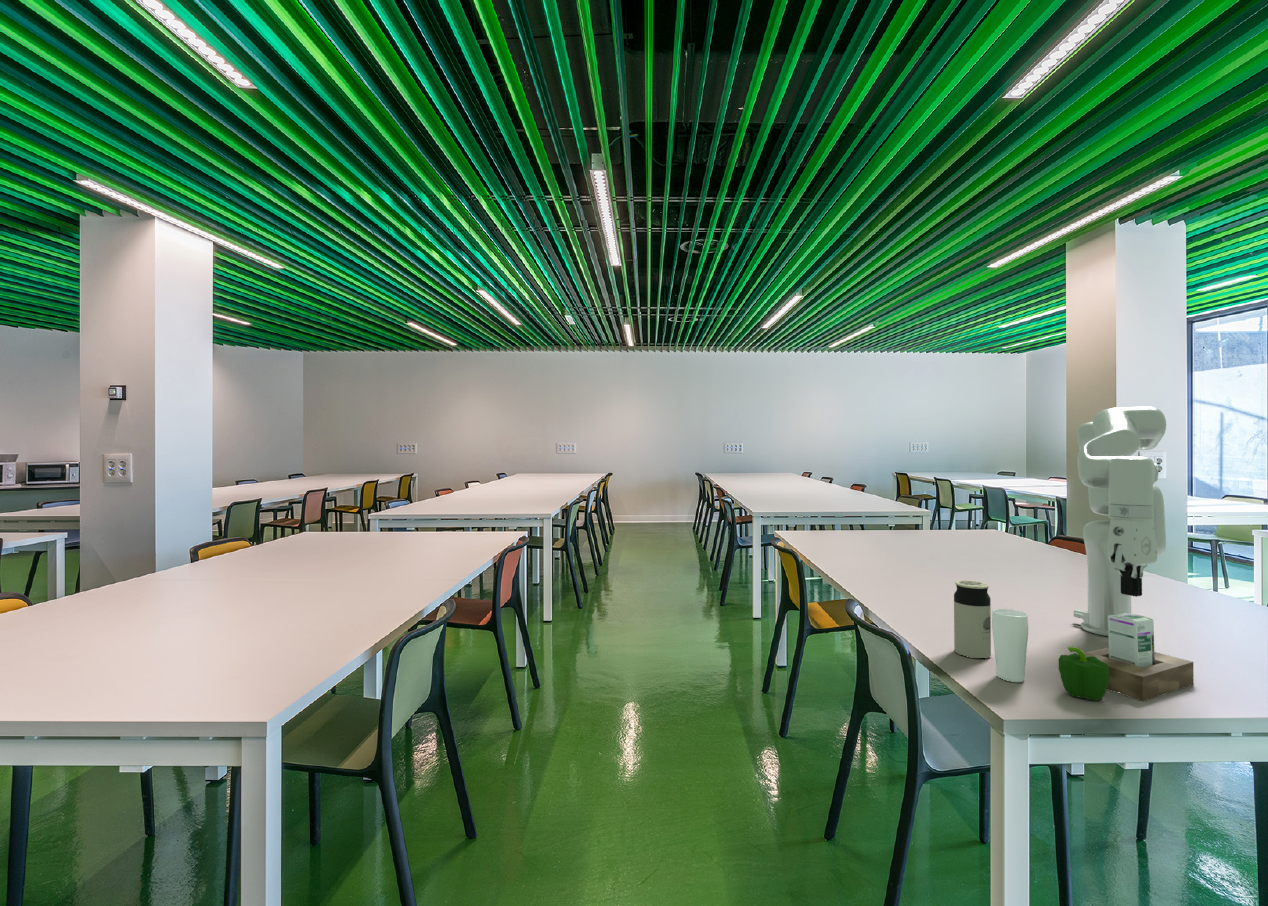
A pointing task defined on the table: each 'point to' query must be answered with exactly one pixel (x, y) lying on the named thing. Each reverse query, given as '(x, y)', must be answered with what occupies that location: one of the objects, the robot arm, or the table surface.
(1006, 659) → the drinking glass
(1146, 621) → the syrup box
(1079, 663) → the bell pepper
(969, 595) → the travel mug
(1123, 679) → the walnut socket block
